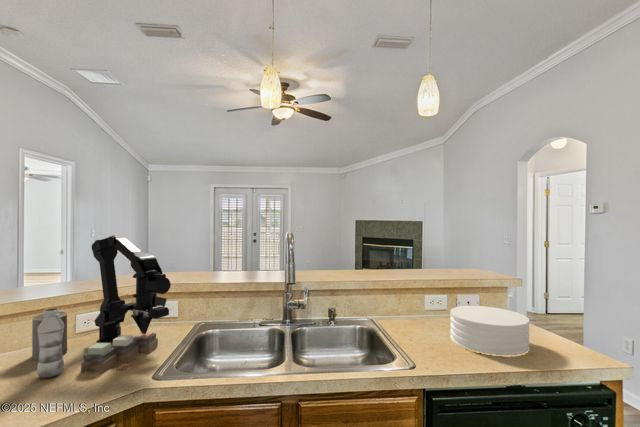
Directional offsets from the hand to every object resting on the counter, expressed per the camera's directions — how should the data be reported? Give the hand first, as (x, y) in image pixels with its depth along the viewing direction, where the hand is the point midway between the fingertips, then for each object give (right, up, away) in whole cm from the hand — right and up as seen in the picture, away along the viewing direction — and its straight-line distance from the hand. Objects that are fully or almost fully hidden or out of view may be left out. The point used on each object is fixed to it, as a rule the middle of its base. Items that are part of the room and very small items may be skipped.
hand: (144, 333), depth 128 cm
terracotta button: (0, -3, 0) cm, 3 cm away
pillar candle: (-30, -6, -6) cm, 31 cm away
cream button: (-3, -1, -8) cm, 8 cm away
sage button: (-7, -1, -15) cm, 17 cm away
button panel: (-3, -6, -8) cm, 10 cm away
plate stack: (+131, -8, +11) cm, 131 cm away
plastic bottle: (-18, -6, -21) cm, 28 cm away
